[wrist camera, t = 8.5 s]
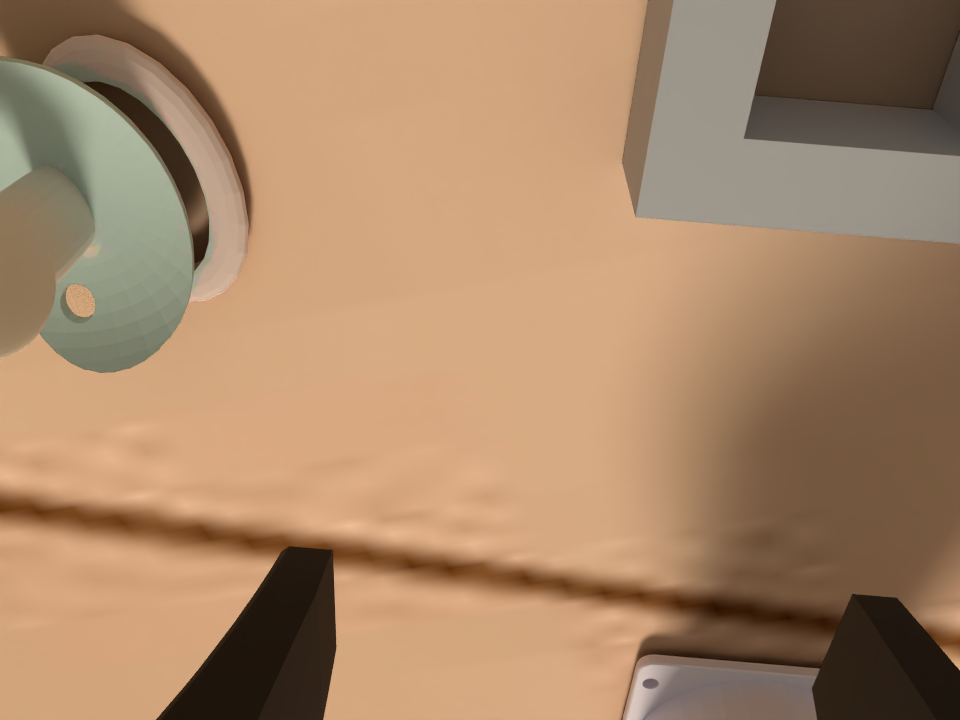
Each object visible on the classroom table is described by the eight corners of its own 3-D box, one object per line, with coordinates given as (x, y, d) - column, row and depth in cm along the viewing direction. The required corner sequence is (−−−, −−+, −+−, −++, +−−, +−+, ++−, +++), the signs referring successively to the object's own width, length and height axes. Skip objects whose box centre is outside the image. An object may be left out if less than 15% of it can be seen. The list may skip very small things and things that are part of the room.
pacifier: (165, -19, 18) (-82, 61, 19) (28, 52, 13) (-306, 157, 14) (299, 284, 22) (86, 338, 23) (235, 436, 16) (-39, 498, 17)
